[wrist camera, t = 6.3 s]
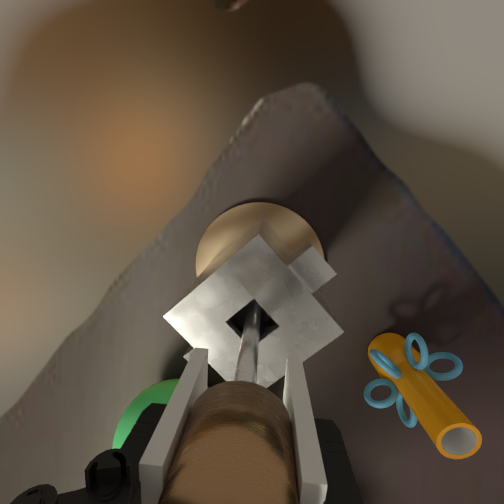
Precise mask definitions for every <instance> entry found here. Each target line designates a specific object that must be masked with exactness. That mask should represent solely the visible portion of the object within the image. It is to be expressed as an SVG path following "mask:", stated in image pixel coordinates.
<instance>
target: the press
mask: <svg viewBox="0 0 504 504" xmlns="http://www.w3.org/2000/svg"><path fill="white" fill-rule="evenodd" d="M335 275H336V273H335V272H334V270H333V269H332V268H331V267H330V266H329V264H328V263H327V262H326V261H325V260H324V259H323V257H322V256H321V255H320V254H319V253H318V252H317V250H316V249H315V248H314V247H313V246H312V245H311V243H310V242H309V241H308V242H307V243H306V244H305V245H304V246H302V247H301V248H300V249H299V250H297V251H296V252H295V253H294V252H293V251H292V250H291V249H290V248H289V247H288V246H287V244H286V243H285V242H284V241H283V240H282V239H281V237H280V236H279V235H278V234H277V233H276V232H275V230H274V229H273V228H272V227H271V226H270V225H269V224H268V222H267V221H266V220H265V219H264V218H263V217H262V218H261V219H260V220H259V221H258V222H257V223H255V224H254V225H253V226H252V227H251V228H250V229H249V230H247V231H246V232H245V233H244V234H243V235H242V236H241V237H239V238H238V239H237V240H236V241H235V242H234V243H233V244H231V245H230V246H229V247H228V248H227V249H226V250H225V251H223V252H222V253H221V254H220V255H219V256H218V257H217V258H215V259H214V260H213V261H212V262H211V263H210V264H209V265H208V266H207V267H206V268H205V269H204V270H203V272H202V273H201V274H200V275H199V276H198V277H197V278H196V279H195V281H194V282H193V283H192V284H191V285H190V286H189V287H188V289H187V290H186V291H185V292H184V293H183V294H182V295H181V297H180V298H179V299H178V300H177V301H176V302H175V303H174V304H173V306H172V307H171V308H170V309H169V310H168V311H167V312H166V314H165V315H164V316H163V317H164V318H165V319H166V320H167V321H168V322H169V323H170V324H171V325H172V326H173V327H174V328H175V329H176V330H177V331H178V332H179V333H180V334H181V335H182V336H183V337H184V338H185V339H186V340H187V341H188V343H189V344H190V345H189V347H188V348H187V350H186V352H185V354H184V356H183V357H184V358H185V359H186V360H187V361H189V359H190V357H191V355H192V353H193V351H194V349H195V348H206V349H208V363H209V364H210V365H211V366H212V367H213V368H214V369H215V370H216V371H217V372H218V373H219V374H220V375H221V376H222V377H223V378H224V379H225V380H226V381H234V378H235V372H236V367H237V362H238V356H239V351H240V345H241V340H242V335H243V329H244V327H242V326H239V325H238V324H236V323H235V322H233V321H232V320H231V319H230V318H231V317H232V316H233V315H234V314H235V313H237V312H238V311H239V310H240V309H242V308H243V307H244V306H245V305H247V304H248V303H249V302H250V301H252V300H253V299H255V300H256V301H257V302H258V303H259V304H260V306H261V307H262V308H263V309H264V310H265V311H266V312H267V313H268V314H269V315H270V317H271V318H272V319H273V320H274V321H275V322H276V323H277V324H275V325H274V326H272V327H269V328H266V329H260V332H259V349H258V365H257V381H256V384H258V385H261V386H263V387H265V388H267V387H269V386H270V385H272V384H273V383H274V382H276V381H277V380H279V379H280V378H281V377H283V376H284V375H285V374H286V364H287V356H293V357H301V359H302V362H304V361H305V360H306V359H308V358H309V357H311V356H312V355H313V354H315V353H316V352H317V351H319V350H320V349H322V348H323V347H324V346H326V345H327V344H329V343H330V342H331V341H333V340H334V339H336V338H337V337H338V336H340V335H341V334H342V333H344V331H343V329H342V327H341V325H340V324H339V322H338V320H337V318H336V317H335V315H334V313H333V311H332V309H331V308H330V306H329V304H328V302H327V301H326V299H325V297H324V295H323V294H322V292H321V290H320V287H321V286H322V285H324V284H325V283H326V282H327V281H329V280H330V279H331V278H333V277H334V276H335Z"/></svg>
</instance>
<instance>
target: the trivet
mask: <svg viewBox="0 0 504 504" xmlns="http://www.w3.org/2000/svg"><path fill="white" fill-rule="evenodd" d="M262 217H263V218H264V219H265V220H266V221H267V222H268V224H269V225H270V226H271V227H272V228H273V229H274V230H275V232H276V233H277V234H278V235H279V236H280V237H281V239H282V240H283V241H284V242H285V243H286V244H287V246H288V247H289V248H290V249H291V250H292V251H293V252H294V253H295V252H296V251H297V250H299V249H300V248H301V247H302V246H304V245H305V244H306V243H307V242H308V241H309V242H310V243H311V245H312V246H313V247H314V248H315V249H316V250H317V252H318V253H319V254H320V255H321V256H322V257H323V259H324V254H323V250H322V246H321V244H320V241H319V239H318V237H317V235H316V233H315V232H314V230H313V229H312V228H311V226H310V225H309V224H308V223H307V222H306V221H305V220H304V219H303V218H302V217H300V216H299V215H298V214H296V213H295V212H293V211H291V210H290V209H288V208H285V207H283V206H280V205H276V204H273V203H265V202H254V203H247V204H243V205H239V206H237V207H234V208H232V209H230V210H228V211H226V212H225V213H223V214H222V215H220V216H219V217H218V218H216V219H215V220H214V221H213V222H212V224H211V225H210V226H209V227H208V228H207V230H206V231H205V233H204V235H203V237H202V238H201V241H200V244H199V246H198V250H197V255H196V273H197V277H198V276H199V275H200V274H201V273H202V272H203V270H204V269H205V268H206V267H207V266H208V265H209V264H210V263H211V262H212V261H213V260H214V259H215V258H217V257H218V256H219V255H220V254H221V253H222V252H223V251H225V250H226V249H227V248H228V247H229V246H230V245H231V244H233V243H234V242H235V241H236V240H237V239H238V238H239V237H241V236H242V235H243V234H244V233H245V232H246V231H247V230H249V229H250V228H251V227H252V226H253V225H254V224H255V223H257V222H258V221H259V220H260V219H261V218H262Z"/></svg>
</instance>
